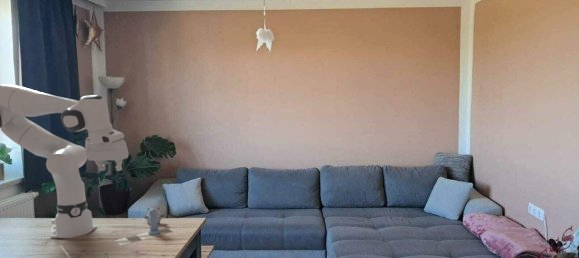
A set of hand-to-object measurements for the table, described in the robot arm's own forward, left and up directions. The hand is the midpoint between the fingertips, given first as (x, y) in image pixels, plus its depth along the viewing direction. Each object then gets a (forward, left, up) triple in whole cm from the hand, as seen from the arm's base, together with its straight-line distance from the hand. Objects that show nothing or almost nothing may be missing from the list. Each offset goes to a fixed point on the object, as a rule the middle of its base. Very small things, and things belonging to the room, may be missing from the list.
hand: (111, 170), depth 162 cm
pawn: (-5, +17, -31) cm, 36 cm away
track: (-5, +13, -33) cm, 35 cm away
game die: (-19, +23, -33) cm, 44 cm away
